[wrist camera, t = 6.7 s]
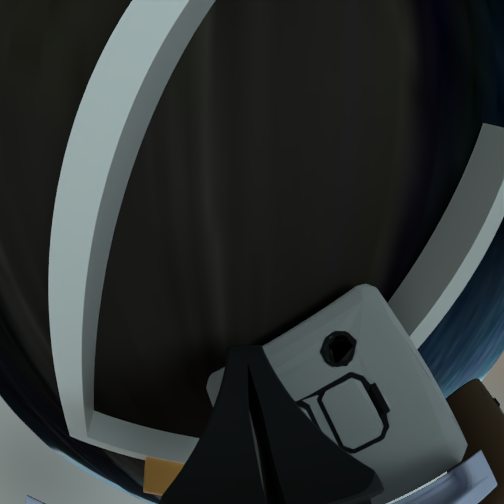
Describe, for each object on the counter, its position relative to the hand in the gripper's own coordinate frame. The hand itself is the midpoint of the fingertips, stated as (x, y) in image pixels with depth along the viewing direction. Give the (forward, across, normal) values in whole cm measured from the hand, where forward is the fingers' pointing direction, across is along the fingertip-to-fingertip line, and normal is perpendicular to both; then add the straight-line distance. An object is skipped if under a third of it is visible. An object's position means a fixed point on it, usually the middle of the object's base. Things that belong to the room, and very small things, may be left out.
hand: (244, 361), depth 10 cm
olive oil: (+2, -28, +20) cm, 34 cm away
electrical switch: (+2, -3, +2) cm, 4 cm away
